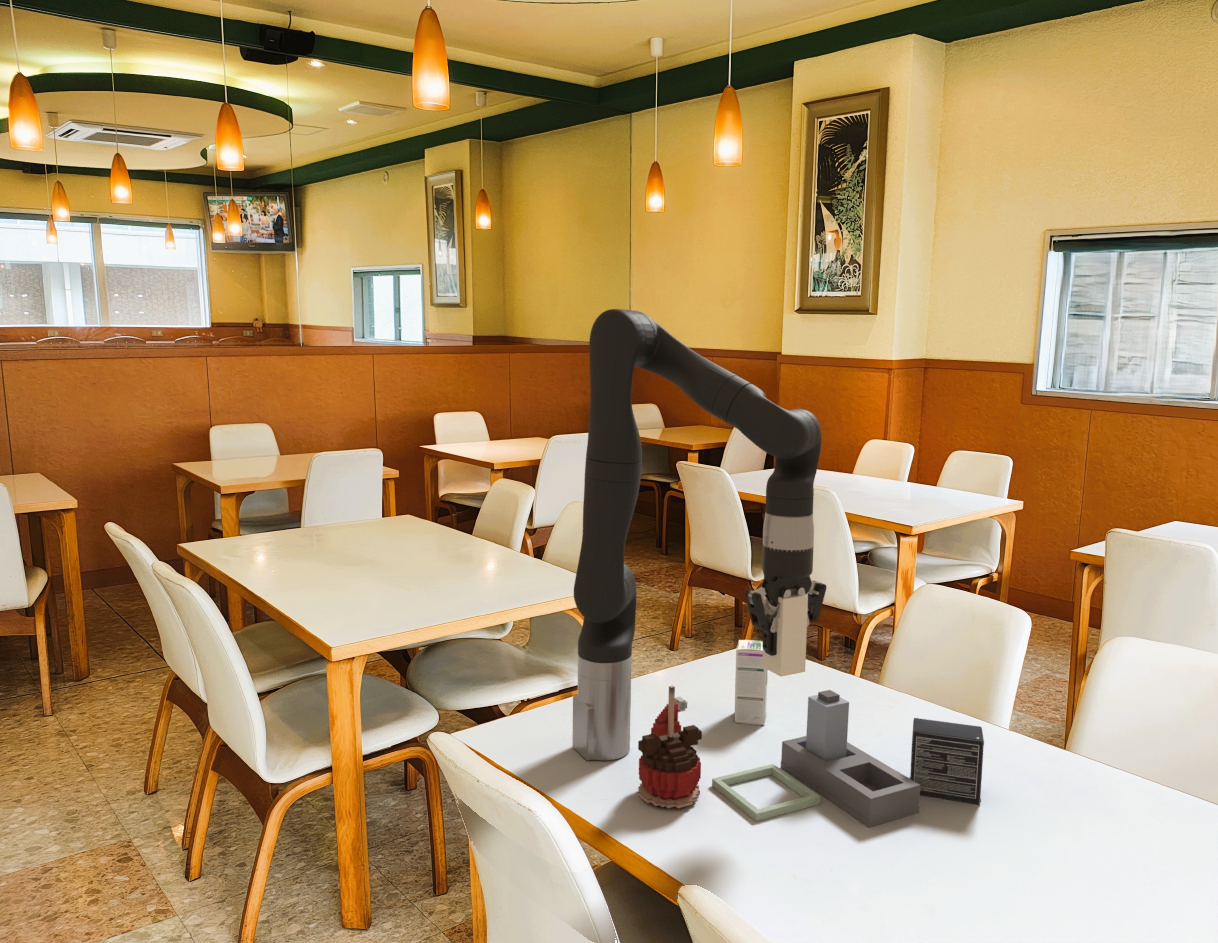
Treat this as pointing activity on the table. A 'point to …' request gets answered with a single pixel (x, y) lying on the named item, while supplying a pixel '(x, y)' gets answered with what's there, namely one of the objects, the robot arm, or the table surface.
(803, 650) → the plug
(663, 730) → the cake
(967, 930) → the table surface
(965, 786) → the small box
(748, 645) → the syrup box
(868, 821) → the outlet strip
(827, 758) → the blue-grey knobbed block
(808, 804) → the tray frame
